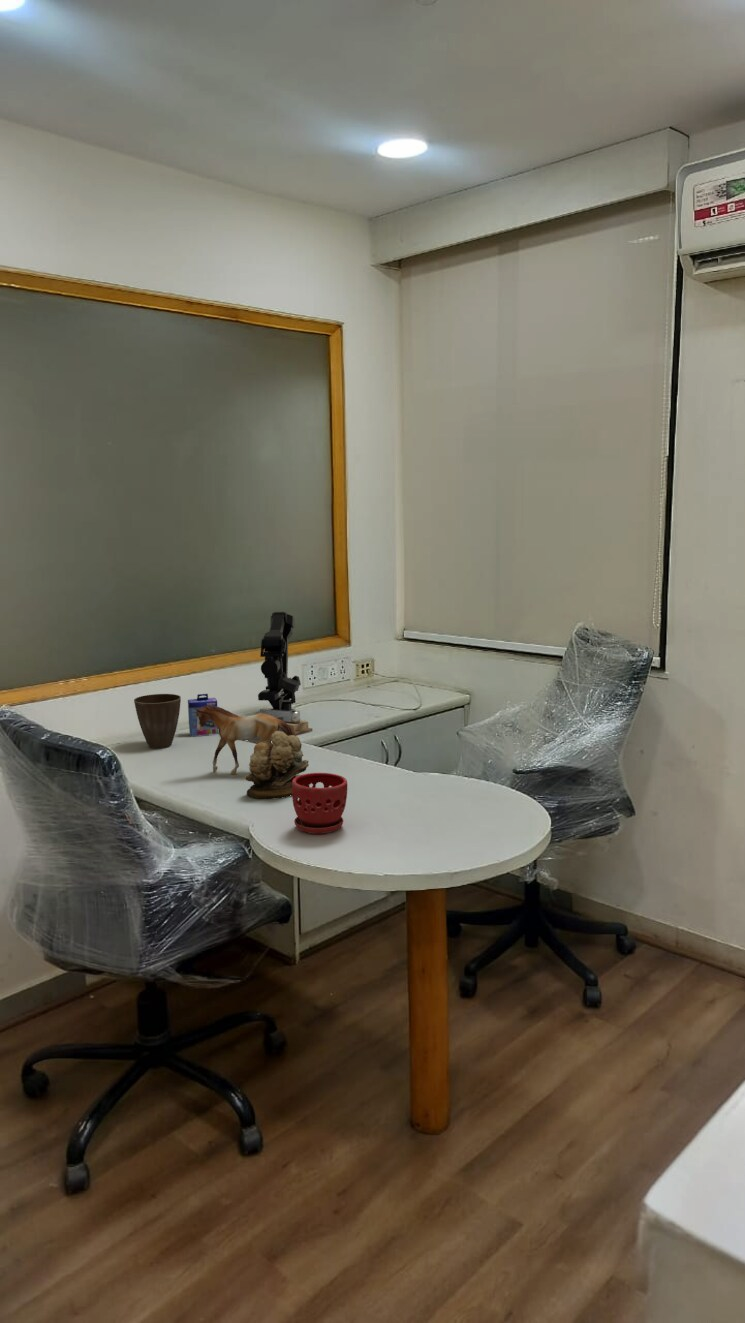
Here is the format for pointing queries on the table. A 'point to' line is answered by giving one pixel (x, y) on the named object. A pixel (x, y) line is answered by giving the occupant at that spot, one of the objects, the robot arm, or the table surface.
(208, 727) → the ink cartridge box
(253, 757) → the beige lumpy carved figure
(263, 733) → the horse figurine
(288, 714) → the lock bar
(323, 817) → the plant pot
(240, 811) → the table surface
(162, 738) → the plant pot
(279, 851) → the table surface
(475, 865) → the table surface
